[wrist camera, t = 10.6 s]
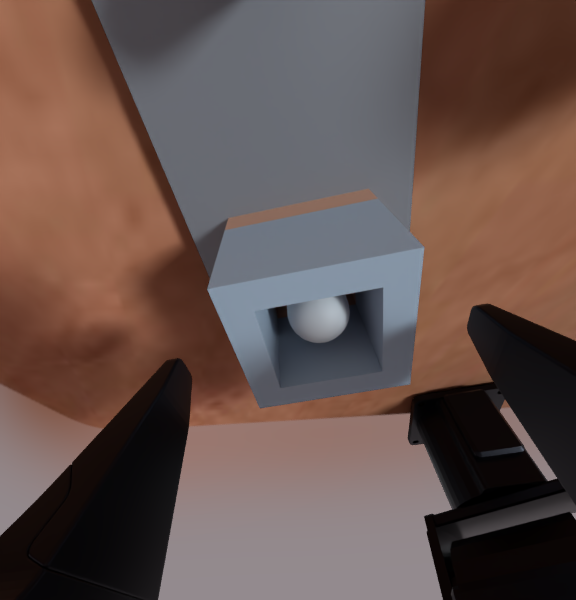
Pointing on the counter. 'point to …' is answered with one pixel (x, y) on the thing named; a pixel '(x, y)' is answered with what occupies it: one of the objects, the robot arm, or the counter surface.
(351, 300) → the sleeve
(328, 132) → the pin board
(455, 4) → the counter surface
